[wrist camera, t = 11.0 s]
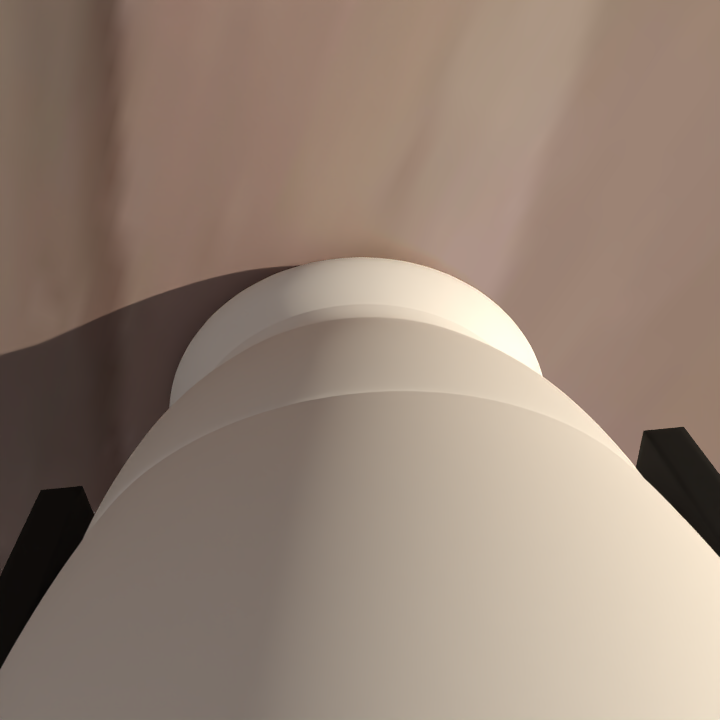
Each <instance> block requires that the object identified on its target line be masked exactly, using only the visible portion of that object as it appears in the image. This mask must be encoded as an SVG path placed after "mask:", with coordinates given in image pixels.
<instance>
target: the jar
mask: <svg viewBox="0 0 720 720" xmlns="http://www.w3.org/2000/svg"><path fill="white" fill-rule="evenodd" d="M0 720H720V557H719V556H718V555H717V554H716V553H715V552H714V551H713V549H712V548H711V547H710V546H709V545H708V544H707V543H706V542H705V541H704V539H703V538H702V537H701V536H700V535H699V534H698V533H697V532H696V531H695V530H694V529H693V527H692V526H691V525H690V524H689V523H688V522H687V521H686V520H685V519H684V518H683V517H682V516H681V515H680V514H679V513H678V512H677V511H676V509H675V508H674V507H673V506H672V505H671V504H670V503H669V502H668V501H667V500H666V499H665V498H664V497H663V496H662V495H661V494H660V493H659V492H658V491H657V490H656V489H655V488H654V487H653V486H652V485H651V484H650V483H649V482H647V481H646V480H645V479H644V478H643V476H642V475H641V474H640V472H639V471H638V470H637V469H636V467H635V466H634V465H633V464H632V462H631V461H630V460H629V459H628V458H627V456H626V455H625V454H624V453H623V452H622V451H621V449H620V448H619V447H618V446H617V445H616V444H615V443H614V441H613V440H612V439H611V438H610V437H609V436H608V435H607V434H606V433H605V432H604V431H603V430H602V429H601V427H600V426H599V425H598V424H597V423H596V422H595V421H594V420H593V419H592V418H591V417H590V416H589V415H588V414H587V413H586V412H584V411H583V410H582V409H581V408H580V407H579V406H578V405H577V404H576V403H575V402H574V401H573V400H571V399H570V398H569V397H568V396H567V395H566V394H564V393H563V392H562V391H561V390H560V389H558V388H557V387H556V386H555V385H553V384H552V383H551V382H549V381H548V380H547V379H545V378H544V377H543V376H542V373H541V370H540V367H539V364H538V361H537V359H536V356H535V354H534V352H533V350H532V348H531V346H530V344H529V343H528V341H527V339H526V338H525V336H524V335H523V333H522V332H521V330H520V329H519V328H518V326H517V325H516V324H515V323H514V321H513V320H512V319H511V318H510V317H509V316H508V315H507V314H506V313H505V312H504V311H503V310H502V309H501V308H500V307H499V306H498V305H497V304H495V303H494V302H493V301H492V300H491V299H489V298H488V297H487V296H485V295H484V294H483V293H481V292H480V291H478V290H477V289H475V288H474V287H472V286H470V285H468V284H467V283H465V282H463V281H461V280H459V279H457V278H455V277H453V276H450V275H448V274H446V273H443V272H441V271H438V270H435V269H432V268H429V267H426V266H422V265H418V264H415V263H410V262H406V261H401V260H394V259H385V258H372V257H351V258H339V259H330V260H323V261H317V262H312V263H308V264H304V265H301V266H297V267H294V268H291V269H287V270H284V271H282V272H279V273H276V274H274V275H272V276H270V277H267V278H265V279H263V280H261V281H259V282H257V283H256V284H254V285H252V286H250V287H248V288H247V289H245V290H243V291H242V292H240V293H239V294H237V295H236V296H234V297H233V298H232V299H230V300H229V301H228V302H227V303H225V304H224V305H223V306H222V307H221V308H220V309H218V310H217V311H216V312H215V313H214V314H213V315H212V316H211V317H210V318H209V319H208V320H207V321H206V323H205V324H204V325H203V326H202V327H201V328H200V330H199V331H198V332H197V334H196V335H195V336H194V338H193V339H192V341H191V342H190V344H189V346H188V347H187V349H186V351H185V353H184V355H183V357H182V359H181V361H180V363H179V366H178V368H177V371H176V374H175V377H174V381H173V385H172V390H171V395H170V404H169V409H168V410H167V411H166V412H165V413H164V414H163V416H162V417H161V418H160V419H159V420H158V421H157V422H156V423H155V425H154V426H153V427H152V428H151V429H150V431H149V432H148V433H147V434H146V436H145V437H144V438H143V439H142V441H141V442H140V443H139V445H138V446H137V447H136V449H135V450H134V452H133V453H132V454H131V456H130V457H129V459H128V460H127V462H126V463H125V465H124V466H123V468H122V469H121V471H120V472H119V474H118V475H117V477H116V479H115V480H114V482H113V483H112V485H111V487H110V488H109V490H108V492H107V494H106V495H105V497H104V499H103V500H102V502H101V504H100V506H99V508H98V510H97V511H96V513H95V515H94V517H93V519H92V521H91V523H90V525H89V527H88V529H87V531H86V533H85V535H84V538H83V540H82V542H81V543H80V544H79V546H78V547H77V548H76V550H75V551H74V552H73V554H72V555H71V557H70V558H69V559H68V561H67V562H66V564H65V565H64V567H63V568H62V570H61V571H60V572H59V574H58V575H57V577H56V578H55V580H54V581H53V583H52V584H51V586H50V587H49V589H48V590H47V592H46V594H45V595H44V597H43V598H42V600H41V601H40V603H39V605H38V606H37V608H36V609H35V611H34V612H33V614H32V616H31V617H30V619H29V621H28V622H27V624H26V626H25V627H24V629H23V631H22V632H21V634H20V636H19V637H18V639H17V641H16V642H15V644H14V646H13V648H12V649H11V651H10V653H9V655H8V656H7V658H6V660H5V662H4V664H3V665H2V667H1V669H0Z"/></svg>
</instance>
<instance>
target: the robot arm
mask: <svg viewBox="0 0 720 720" xmlns="http://www.w3.org/2000/svg"><path fill="white" fill-rule="evenodd" d="M636 469H637V470H638V471H639V472H640V474H641V475H642V476H643V478H644V479H645V480H646V481H647V482H649V483H650V484H651V485H652V486H653V487H654V488H655V489H656V490H657V491H658V492H659V493H660V494H661V495H662V496H663V497H664V498H665V499H666V500H667V501H668V502H669V503H670V504H671V505H672V506H673V507H674V508H675V509H676V511H677V512H678V513H679V514H680V515H681V516H682V517H683V518H684V519H685V520H686V521H687V522H688V523H689V524H690V525H691V526H692V527H693V529H694V530H695V531H696V532H697V533H698V534H699V535H700V536H701V537H702V538H703V539H704V541H705V542H706V543H707V544H708V545H709V546H710V547H711V548H712V549H713V551H714V552H715V553H716V554H717V555H718V556H719V557H720V474H719V473H718V472H717V470H716V469H715V468H714V466H713V465H712V464H711V462H710V461H709V460H708V458H707V457H706V456H705V455H704V453H703V452H702V451H701V449H700V448H699V447H698V445H697V444H696V443H695V441H694V440H693V439H692V437H691V436H690V435H689V433H688V432H687V431H686V429H685V428H684V427H677V428H667V429H657V430H647V431H644V432H643V436H642V441H641V446H640V451H639V455H638V460H637V465H636ZM93 517H94V514H93V511H92V509H91V506H90V504H89V502H88V499H87V497H86V494H85V492H84V489H83V487H82V486H77V487H67V488H57V489H47V490H41V491H40V493H39V495H38V497H37V499H36V501H35V504H34V506H33V508H32V510H31V512H30V514H29V516H28V518H27V521H26V523H25V525H24V527H23V529H22V531H21V533H20V535H19V537H18V540H17V542H16V544H15V546H14V548H13V550H12V552H11V554H10V557H9V559H8V561H7V563H6V565H5V567H4V569H3V571H2V574H1V576H0V669H1V667H2V665H3V664H4V662H5V660H6V658H7V656H8V655H9V653H10V651H11V649H12V648H13V646H14V644H15V642H16V641H17V639H18V637H19V636H20V634H21V632H22V631H23V629H24V627H25V626H26V624H27V622H28V621H29V619H30V617H31V616H32V614H33V612H34V611H35V609H36V608H37V606H38V605H39V603H40V601H41V600H42V598H43V597H44V595H45V594H46V592H47V590H48V589H49V587H50V586H51V584H52V583H53V581H54V580H55V578H56V577H57V575H58V574H59V572H60V571H61V570H62V568H63V567H64V565H65V564H66V562H67V561H68V559H69V558H70V557H71V555H72V554H73V552H74V551H75V550H76V548H77V547H78V546H79V544H80V543H81V542H82V540H83V538H84V535H85V533H86V531H87V529H88V527H89V525H90V523H91V521H92V519H93Z"/></svg>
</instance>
